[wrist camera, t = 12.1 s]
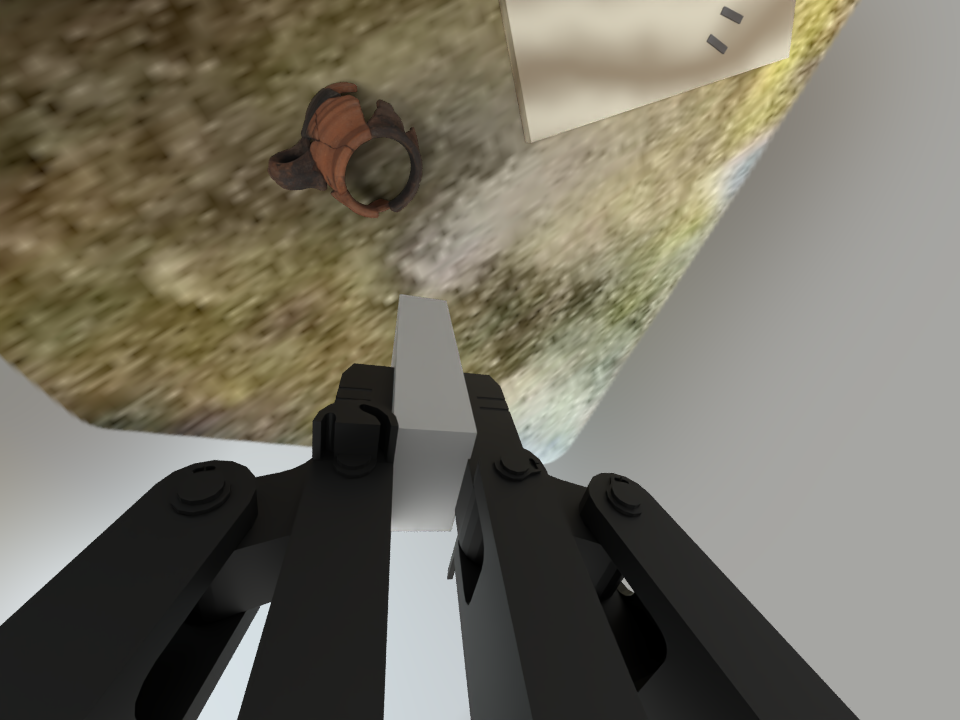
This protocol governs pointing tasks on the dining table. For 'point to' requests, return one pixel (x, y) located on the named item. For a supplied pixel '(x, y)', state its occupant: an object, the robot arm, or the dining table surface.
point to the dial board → (631, 52)
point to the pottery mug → (343, 148)
